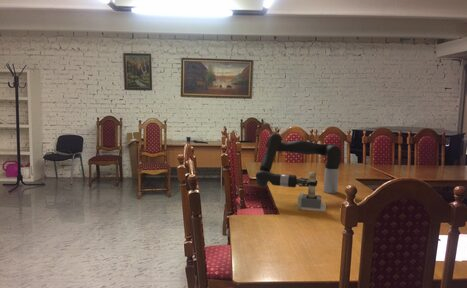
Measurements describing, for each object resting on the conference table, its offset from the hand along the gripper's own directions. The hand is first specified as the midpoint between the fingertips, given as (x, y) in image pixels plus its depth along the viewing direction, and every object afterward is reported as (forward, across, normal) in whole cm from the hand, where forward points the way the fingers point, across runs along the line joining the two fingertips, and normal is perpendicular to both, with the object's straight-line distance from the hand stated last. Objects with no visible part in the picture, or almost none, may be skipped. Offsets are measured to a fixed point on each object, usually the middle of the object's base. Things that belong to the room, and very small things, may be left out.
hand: (316, 183), depth 217 cm
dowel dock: (-2, 0, +15) cm, 15 cm away
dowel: (-3, 0, +10) cm, 10 cm away
